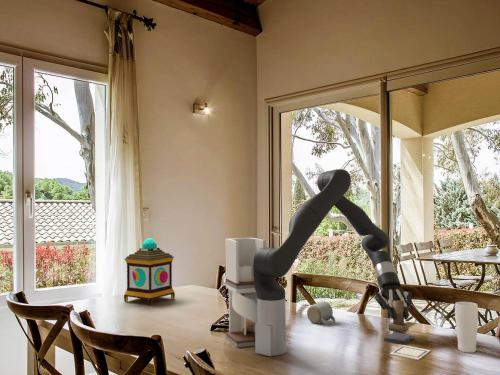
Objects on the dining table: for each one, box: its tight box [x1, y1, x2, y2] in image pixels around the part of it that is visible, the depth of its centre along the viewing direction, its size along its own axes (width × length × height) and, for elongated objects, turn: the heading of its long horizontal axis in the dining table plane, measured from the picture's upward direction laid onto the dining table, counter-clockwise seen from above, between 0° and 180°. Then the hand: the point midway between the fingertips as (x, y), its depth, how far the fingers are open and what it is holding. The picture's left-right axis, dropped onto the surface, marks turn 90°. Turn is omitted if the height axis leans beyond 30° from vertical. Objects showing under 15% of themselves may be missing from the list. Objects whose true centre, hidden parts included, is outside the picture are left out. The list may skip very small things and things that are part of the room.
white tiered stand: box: [224, 237, 267, 348], centre depth 171 cm, size 11×11×35 cm
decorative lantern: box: [123, 237, 176, 306], centre depth 238 cm, size 20×20×30 cm
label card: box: [389, 344, 432, 361], centre depth 157 cm, size 11×9×1 cm
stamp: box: [388, 300, 409, 334], centre depth 171 cm, size 5×5×10 cm
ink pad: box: [383, 332, 415, 346], centre depth 171 cm, size 9×7×1 cm
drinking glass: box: [454, 301, 479, 354], centre depth 158 cm, size 7×7×15 cm
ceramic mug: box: [306, 300, 336, 326], centre depth 195 cm, size 11×8×8 cm
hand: (400, 318), depth 169 cm, fingers closed on stamp, 3 cm apart
